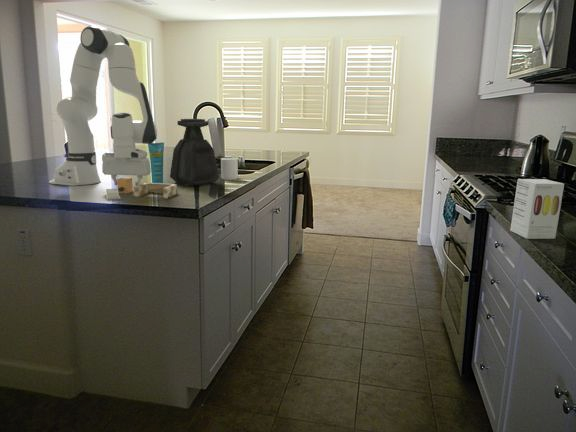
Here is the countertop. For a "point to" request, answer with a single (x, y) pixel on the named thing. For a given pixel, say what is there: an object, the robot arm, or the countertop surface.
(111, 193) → the guide clip
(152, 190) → the end holder
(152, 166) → the tube
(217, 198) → the countertop surface
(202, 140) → the dark grey vase
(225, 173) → the cup
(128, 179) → the connector
